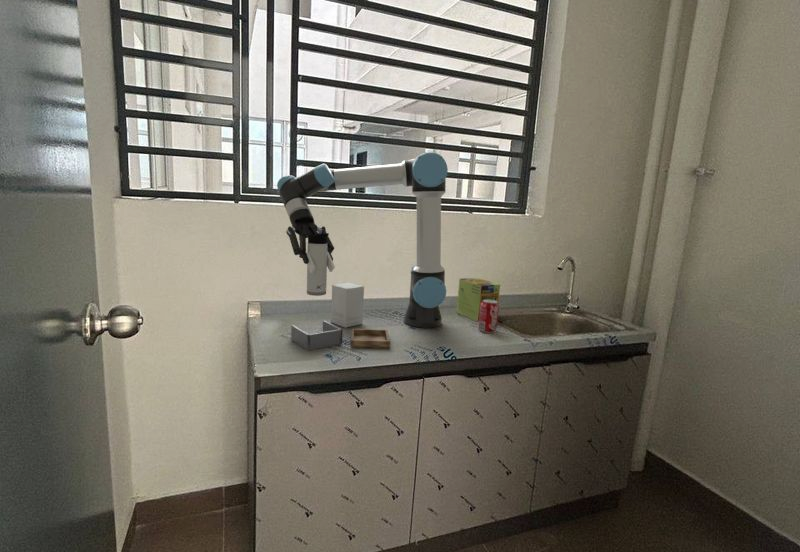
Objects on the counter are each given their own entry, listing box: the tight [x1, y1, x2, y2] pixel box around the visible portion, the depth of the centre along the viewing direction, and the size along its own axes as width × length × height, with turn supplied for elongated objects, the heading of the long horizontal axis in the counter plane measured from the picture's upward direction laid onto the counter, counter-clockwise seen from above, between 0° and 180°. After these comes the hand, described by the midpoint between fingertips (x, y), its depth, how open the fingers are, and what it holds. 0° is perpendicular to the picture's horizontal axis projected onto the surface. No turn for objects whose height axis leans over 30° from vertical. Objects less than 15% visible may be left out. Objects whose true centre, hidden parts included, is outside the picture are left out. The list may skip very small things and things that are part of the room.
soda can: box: [478, 299, 500, 334], centre depth 170 cm, size 7×7×12 cm
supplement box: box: [330, 282, 365, 328], centre depth 169 cm, size 9×9×15 cm
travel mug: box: [306, 232, 330, 297], centre depth 143 cm, size 6×7×20 cm
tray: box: [350, 328, 391, 350], centre depth 150 cm, size 13×13×2 cm
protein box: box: [456, 277, 501, 323], centre depth 191 cm, size 10×15×16 cm
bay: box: [290, 320, 343, 351], centre depth 147 cm, size 12×13×5 cm
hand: (322, 270), depth 141 cm, fingers closed on travel mug, 6 cm apart
